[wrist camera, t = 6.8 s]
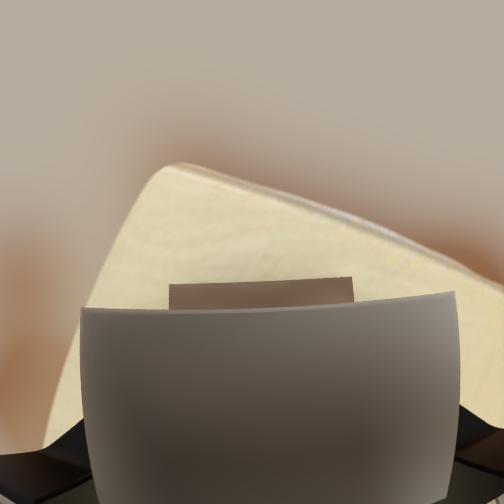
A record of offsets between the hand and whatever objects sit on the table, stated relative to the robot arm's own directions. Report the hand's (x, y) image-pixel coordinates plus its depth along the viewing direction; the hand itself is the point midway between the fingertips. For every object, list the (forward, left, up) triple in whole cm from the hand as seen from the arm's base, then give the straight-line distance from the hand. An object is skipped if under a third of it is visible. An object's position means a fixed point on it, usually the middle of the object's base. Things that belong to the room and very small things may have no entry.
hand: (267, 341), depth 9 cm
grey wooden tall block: (-1, -1, -7) cm, 7 cm away
